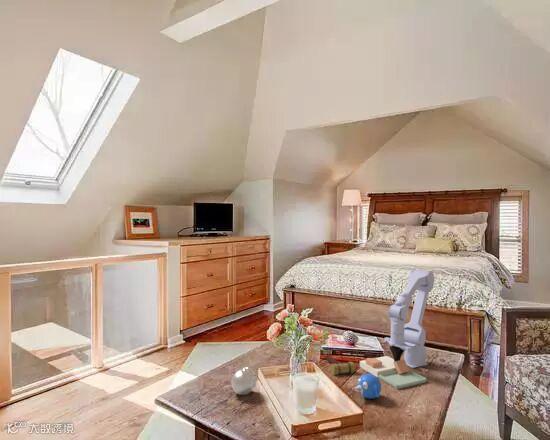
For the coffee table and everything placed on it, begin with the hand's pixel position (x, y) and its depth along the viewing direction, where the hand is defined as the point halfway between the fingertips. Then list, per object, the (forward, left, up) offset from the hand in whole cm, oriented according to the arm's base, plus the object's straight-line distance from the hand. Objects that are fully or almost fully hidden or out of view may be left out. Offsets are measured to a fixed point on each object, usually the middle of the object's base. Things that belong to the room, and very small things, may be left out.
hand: (397, 363), depth 157 cm
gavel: (+22, -16, -4) cm, 28 cm away
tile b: (+9, -5, -1) cm, 10 cm away
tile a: (0, +2, -1) cm, 2 cm away
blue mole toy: (+28, +13, -4) cm, 31 cm away
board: (+4, -5, -4) cm, 7 cm away
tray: (+4, +7, -4) cm, 9 cm away
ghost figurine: (+69, -8, -4) cm, 70 cm away
